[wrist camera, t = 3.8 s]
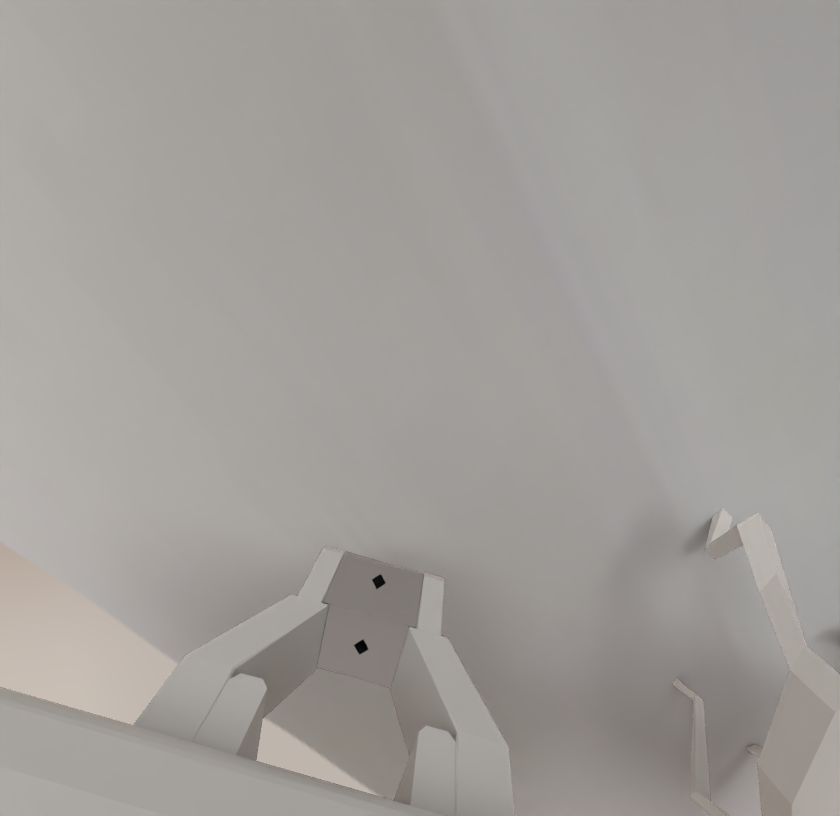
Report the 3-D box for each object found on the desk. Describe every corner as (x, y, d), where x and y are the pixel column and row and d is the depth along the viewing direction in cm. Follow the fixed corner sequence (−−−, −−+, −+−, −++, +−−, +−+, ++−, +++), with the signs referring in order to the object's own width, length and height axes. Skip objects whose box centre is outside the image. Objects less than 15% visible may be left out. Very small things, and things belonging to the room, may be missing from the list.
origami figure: (989, 685, 12) (1319, 945, 7) (725, 774, 14) (848, 1011, 10) (790, 404, 10) (1077, 519, 5) (524, 565, 12) (559, 739, 8)
